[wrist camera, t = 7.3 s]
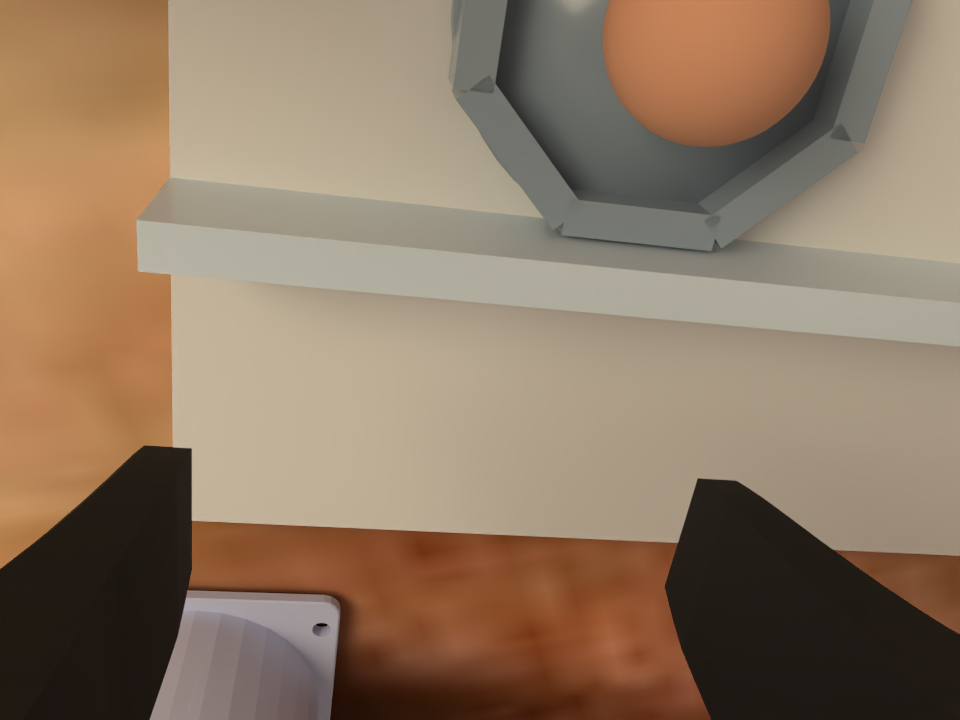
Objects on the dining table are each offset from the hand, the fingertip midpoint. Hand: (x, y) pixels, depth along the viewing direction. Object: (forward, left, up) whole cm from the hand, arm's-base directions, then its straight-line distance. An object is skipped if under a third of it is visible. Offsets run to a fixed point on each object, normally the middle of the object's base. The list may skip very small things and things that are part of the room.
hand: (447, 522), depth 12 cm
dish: (+6, -5, -9) cm, 12 cm away
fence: (+2, -6, -10) cm, 12 cm away
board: (+2, -6, -10) cm, 12 cm away
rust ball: (+6, -5, -6) cm, 10 cm away
